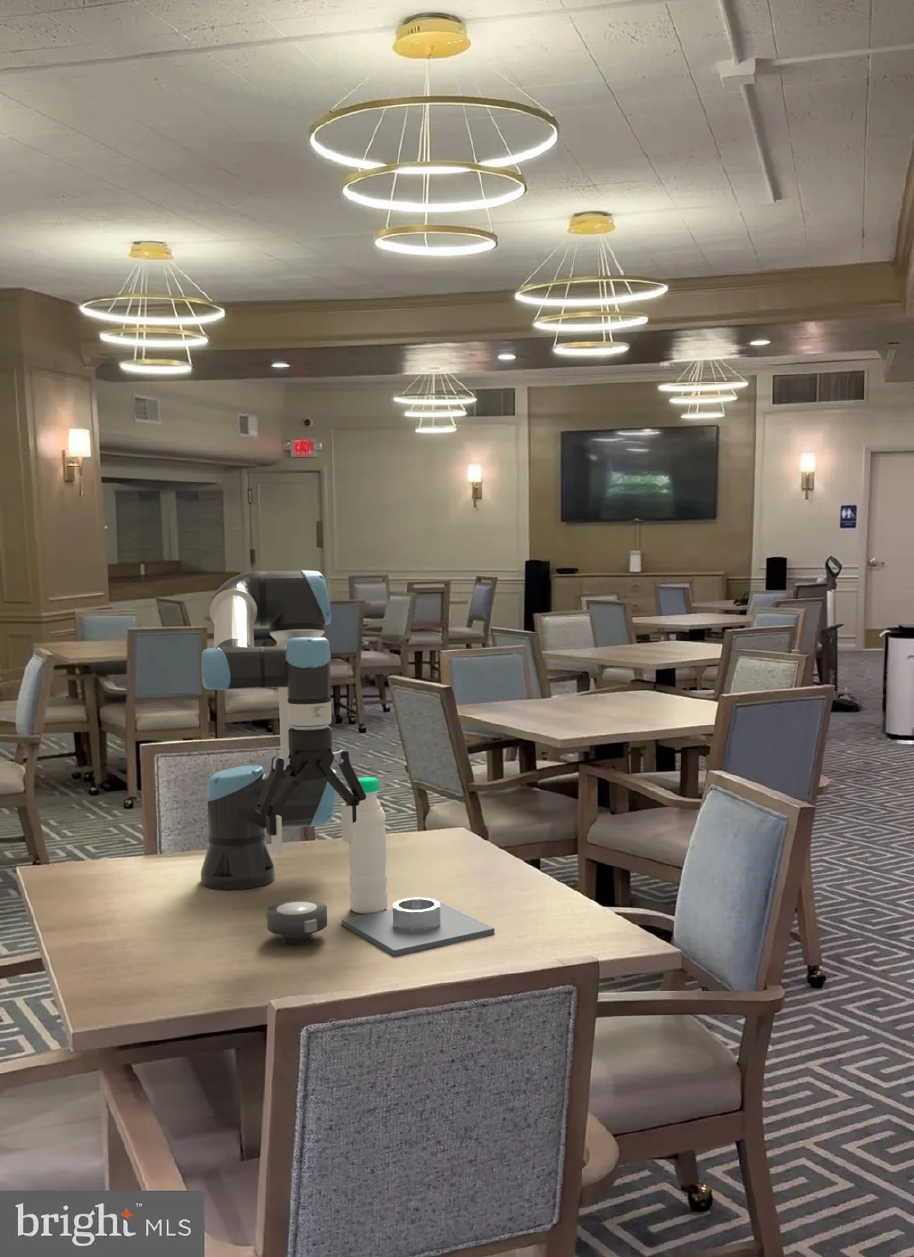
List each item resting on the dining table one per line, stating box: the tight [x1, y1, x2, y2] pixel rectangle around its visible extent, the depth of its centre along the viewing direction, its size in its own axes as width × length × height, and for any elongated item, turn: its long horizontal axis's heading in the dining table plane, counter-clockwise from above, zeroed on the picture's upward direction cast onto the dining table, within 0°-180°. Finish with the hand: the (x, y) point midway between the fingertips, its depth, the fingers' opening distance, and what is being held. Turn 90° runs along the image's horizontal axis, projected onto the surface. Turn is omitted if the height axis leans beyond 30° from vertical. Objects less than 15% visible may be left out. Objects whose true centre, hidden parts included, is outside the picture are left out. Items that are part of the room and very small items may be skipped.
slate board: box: [341, 902, 495, 957], centre depth 203 cm, size 20×20×1 cm
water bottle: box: [348, 776, 388, 915], centre depth 215 cm, size 7×7×25 cm
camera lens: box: [266, 899, 328, 946], centre depth 198 cm, size 12×10×6 cm
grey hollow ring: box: [392, 896, 441, 932], centre depth 203 cm, size 8×8×4 cm
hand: (313, 847), depth 198 cm, fingers open, 13 cm apart
